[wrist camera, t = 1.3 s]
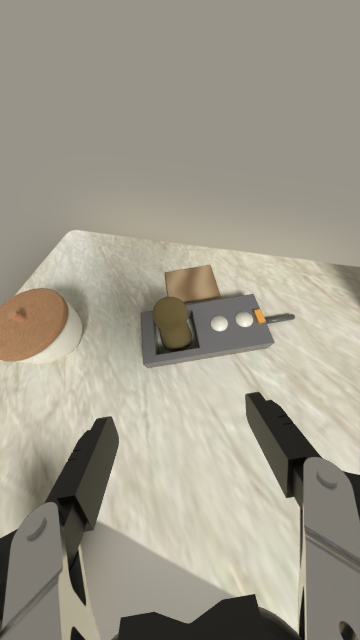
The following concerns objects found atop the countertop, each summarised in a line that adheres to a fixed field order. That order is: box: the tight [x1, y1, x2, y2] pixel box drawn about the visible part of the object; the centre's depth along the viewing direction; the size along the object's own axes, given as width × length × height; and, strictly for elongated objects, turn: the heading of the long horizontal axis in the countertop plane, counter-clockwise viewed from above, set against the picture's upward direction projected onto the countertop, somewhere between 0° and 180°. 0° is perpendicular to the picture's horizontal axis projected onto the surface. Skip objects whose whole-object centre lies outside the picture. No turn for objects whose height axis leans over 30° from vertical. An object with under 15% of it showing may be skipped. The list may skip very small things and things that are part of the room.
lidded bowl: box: [0, 288, 82, 365], centre depth 30 cm, size 13×13×11 cm
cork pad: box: [165, 265, 220, 303], centre depth 38 cm, size 11×9×1 cm
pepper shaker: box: [153, 297, 192, 352], centre depth 28 cm, size 6×6×11 cm
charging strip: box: [141, 294, 295, 368], centre depth 31 cm, size 29×10×4 cm, turn 98°
